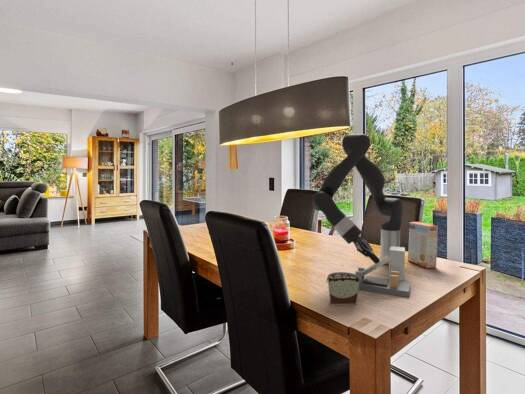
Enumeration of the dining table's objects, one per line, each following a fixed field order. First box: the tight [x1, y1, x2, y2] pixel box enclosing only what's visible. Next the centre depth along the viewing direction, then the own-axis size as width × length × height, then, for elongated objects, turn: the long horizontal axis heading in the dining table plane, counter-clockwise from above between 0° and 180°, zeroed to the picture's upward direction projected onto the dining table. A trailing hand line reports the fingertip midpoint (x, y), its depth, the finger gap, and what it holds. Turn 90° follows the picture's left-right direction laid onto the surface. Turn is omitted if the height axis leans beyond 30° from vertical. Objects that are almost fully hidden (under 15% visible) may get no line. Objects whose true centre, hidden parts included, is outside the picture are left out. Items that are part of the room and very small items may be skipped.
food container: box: [326, 271, 361, 306], centre depth 122 cm, size 12×6×10 cm, turn 92°
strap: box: [362, 256, 391, 277], centre depth 137 cm, size 4×2×15 cm
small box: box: [388, 246, 406, 281], centre depth 149 cm, size 8×6×13 cm
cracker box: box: [407, 221, 439, 269], centre depth 169 cm, size 14×6×21 cm, turn 13°
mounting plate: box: [355, 266, 411, 298], centre depth 137 cm, size 12×26×6 cm, turn 64°
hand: (377, 261), depth 136 cm, fingers closed
